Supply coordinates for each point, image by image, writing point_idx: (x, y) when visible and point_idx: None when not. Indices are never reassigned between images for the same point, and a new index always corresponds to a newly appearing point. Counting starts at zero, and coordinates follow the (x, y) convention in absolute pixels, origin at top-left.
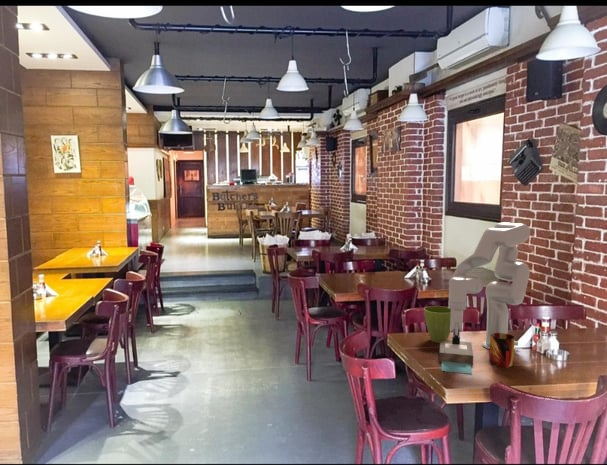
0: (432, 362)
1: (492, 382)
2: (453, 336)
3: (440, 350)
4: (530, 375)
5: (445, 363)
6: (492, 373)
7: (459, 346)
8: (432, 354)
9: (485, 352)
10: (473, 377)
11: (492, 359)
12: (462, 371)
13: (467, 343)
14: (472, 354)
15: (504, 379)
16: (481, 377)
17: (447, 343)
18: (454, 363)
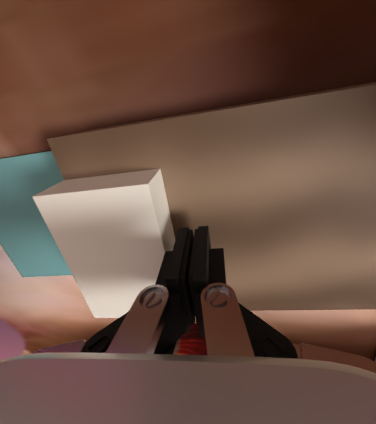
0: (41, 90)
1: (9, 318)
2: (135, 301)
3: (99, 137)
4: None
5: (58, 172)
6: (85, 323)
7: (127, 282)
8: (208, 48)
9: (340, 317)
10: (2, 278)
11: (180, 346)
12: (15, 248)
13: (362, 290)
14: None
15: (58, 342)
16: (23, 297)
17: (337, 163)
18: None
